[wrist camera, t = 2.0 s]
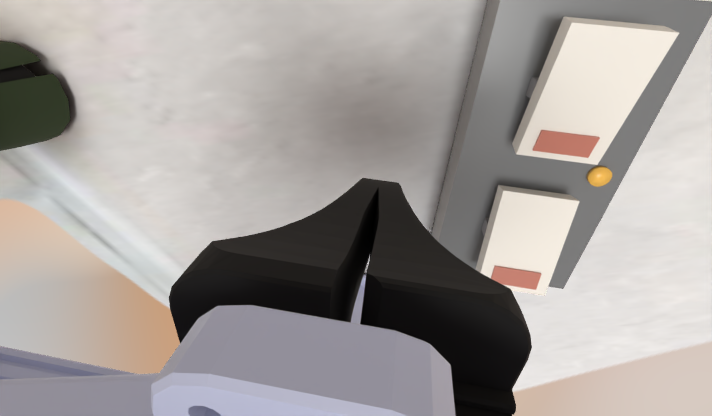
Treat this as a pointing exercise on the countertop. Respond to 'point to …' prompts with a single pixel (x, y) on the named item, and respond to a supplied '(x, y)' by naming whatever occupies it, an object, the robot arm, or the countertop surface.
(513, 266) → the rocker
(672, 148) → the countertop surface
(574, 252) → the double switch panel
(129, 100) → the countertop surface
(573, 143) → the rocker
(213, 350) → the robot arm
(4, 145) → the character mug
